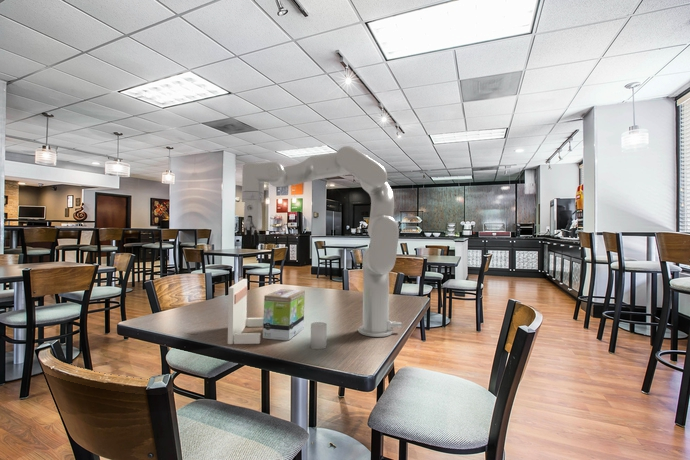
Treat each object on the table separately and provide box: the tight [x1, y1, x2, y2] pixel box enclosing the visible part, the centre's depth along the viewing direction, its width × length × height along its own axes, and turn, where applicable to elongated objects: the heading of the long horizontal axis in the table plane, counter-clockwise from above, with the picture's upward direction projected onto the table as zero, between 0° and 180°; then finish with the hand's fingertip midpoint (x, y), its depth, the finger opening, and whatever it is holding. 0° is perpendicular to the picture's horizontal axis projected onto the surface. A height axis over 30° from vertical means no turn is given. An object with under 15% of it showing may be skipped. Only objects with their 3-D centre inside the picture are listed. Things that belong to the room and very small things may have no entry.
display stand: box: [227, 278, 263, 345], centre depth 115 cm, size 10×21×18 cm, turn 5°
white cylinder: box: [310, 321, 328, 350], centre depth 103 cm, size 5×5×7 cm
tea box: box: [262, 288, 306, 341], centre depth 116 cm, size 15×10×15 cm, turn 168°
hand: (252, 245), depth 115 cm, fingers open, 9 cm apart
